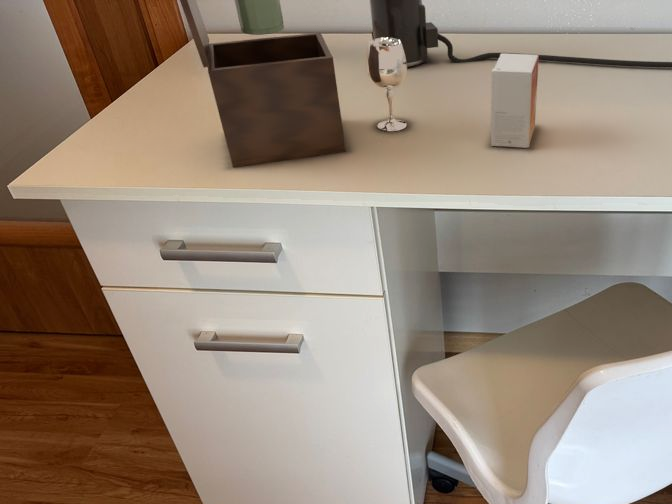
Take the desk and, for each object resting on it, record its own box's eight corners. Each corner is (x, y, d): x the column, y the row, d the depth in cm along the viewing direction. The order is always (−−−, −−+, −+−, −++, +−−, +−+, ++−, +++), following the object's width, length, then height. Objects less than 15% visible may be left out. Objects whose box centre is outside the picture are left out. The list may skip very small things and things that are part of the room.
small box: (528, 149, 95) (532, 72, 88) (489, 146, 95) (490, 70, 89) (536, 127, 100) (540, 53, 94) (499, 125, 101) (500, 52, 95)
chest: (333, 120, 104) (320, 32, 96) (346, 151, 95) (332, 57, 87) (230, 133, 101) (207, 43, 92) (232, 167, 92) (207, 71, 83)
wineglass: (373, 119, 104) (364, 37, 96) (410, 117, 104) (404, 35, 96) (372, 134, 100) (363, 49, 92) (411, 132, 100) (405, 47, 92)
